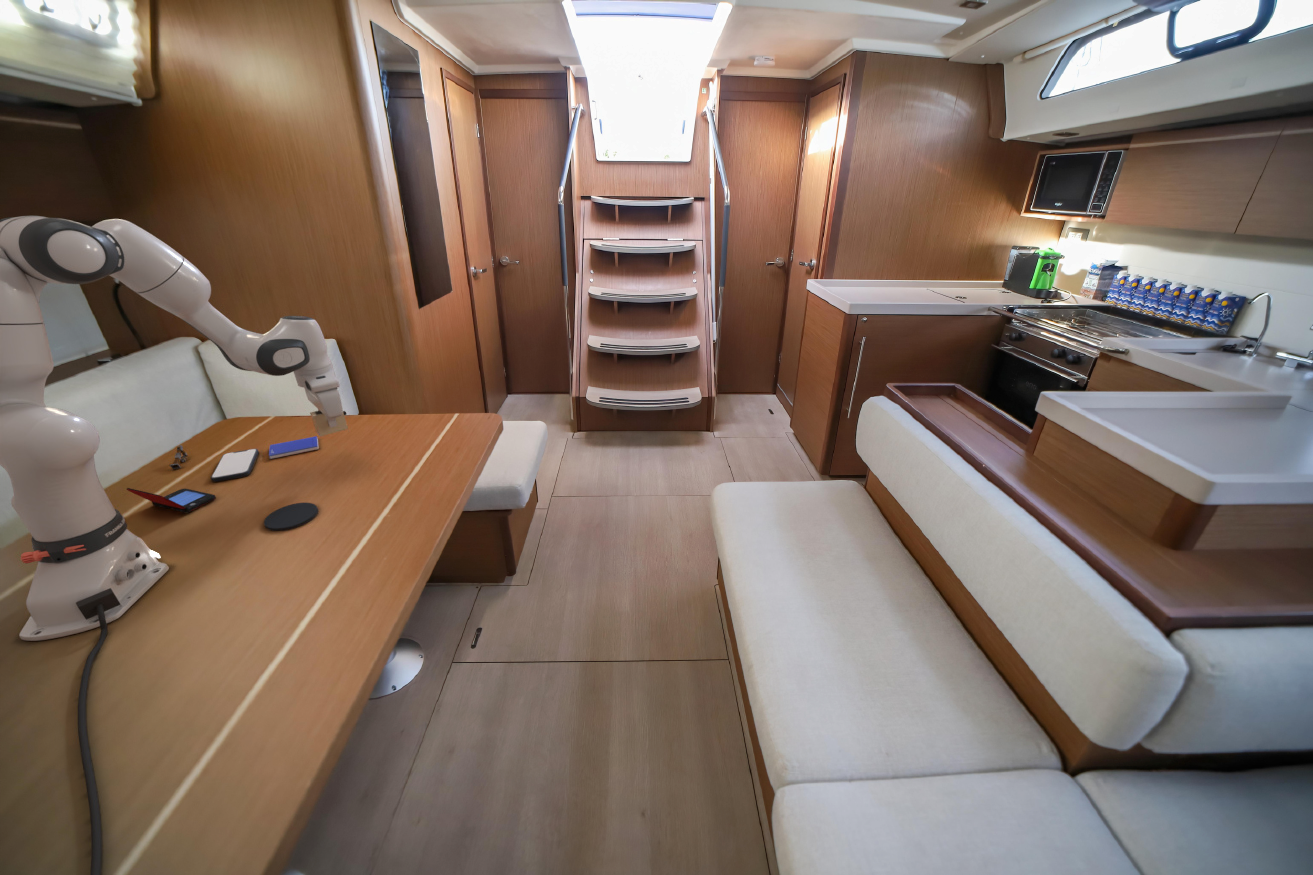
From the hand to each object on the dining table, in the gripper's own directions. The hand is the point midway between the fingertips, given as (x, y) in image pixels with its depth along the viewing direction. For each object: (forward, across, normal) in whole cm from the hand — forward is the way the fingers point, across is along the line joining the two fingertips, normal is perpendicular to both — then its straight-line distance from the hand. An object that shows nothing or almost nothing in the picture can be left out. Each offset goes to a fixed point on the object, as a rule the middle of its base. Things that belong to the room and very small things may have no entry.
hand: (330, 423), depth 140 cm
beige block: (+2, 0, 0) cm, 2 cm away
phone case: (+14, -22, -22) cm, 34 cm away
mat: (+14, +19, -17) cm, 29 cm away
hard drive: (+14, -23, -7) cm, 28 cm away
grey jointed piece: (+14, -36, -33) cm, 51 cm away
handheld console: (+14, -7, -36) cm, 39 cm away
